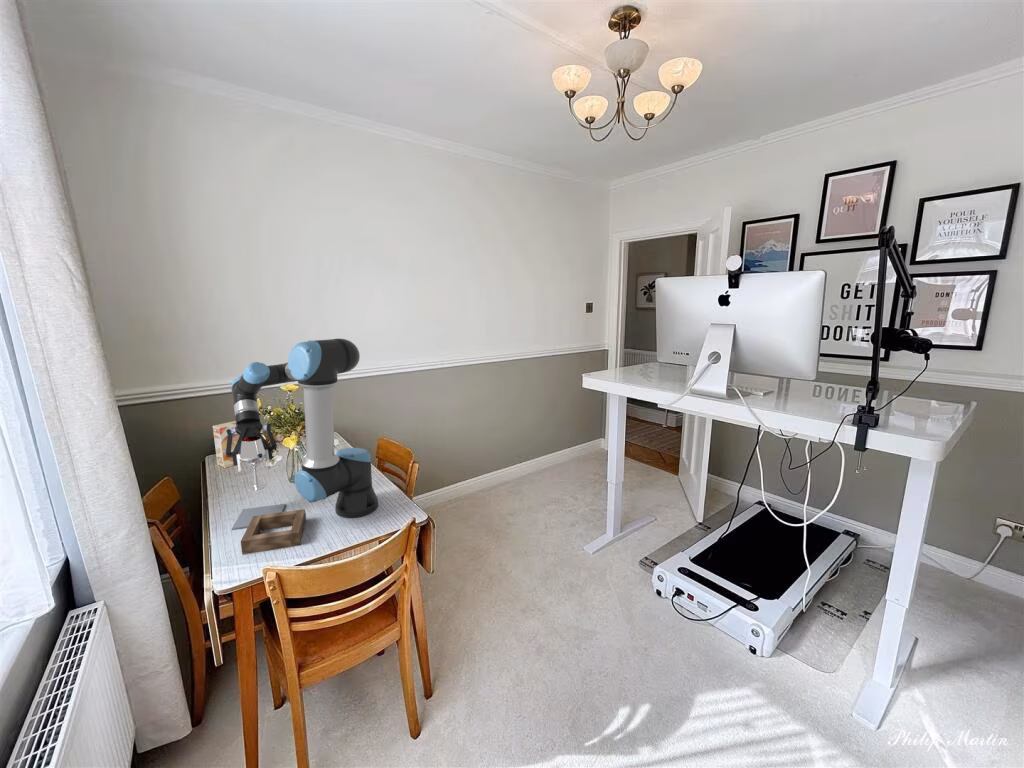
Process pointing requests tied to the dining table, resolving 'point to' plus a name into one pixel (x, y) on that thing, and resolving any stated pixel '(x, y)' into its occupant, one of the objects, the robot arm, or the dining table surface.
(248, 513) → the mat
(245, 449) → the wineglass
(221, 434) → the coffeecake box
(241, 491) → the dining table surface
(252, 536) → the frame
